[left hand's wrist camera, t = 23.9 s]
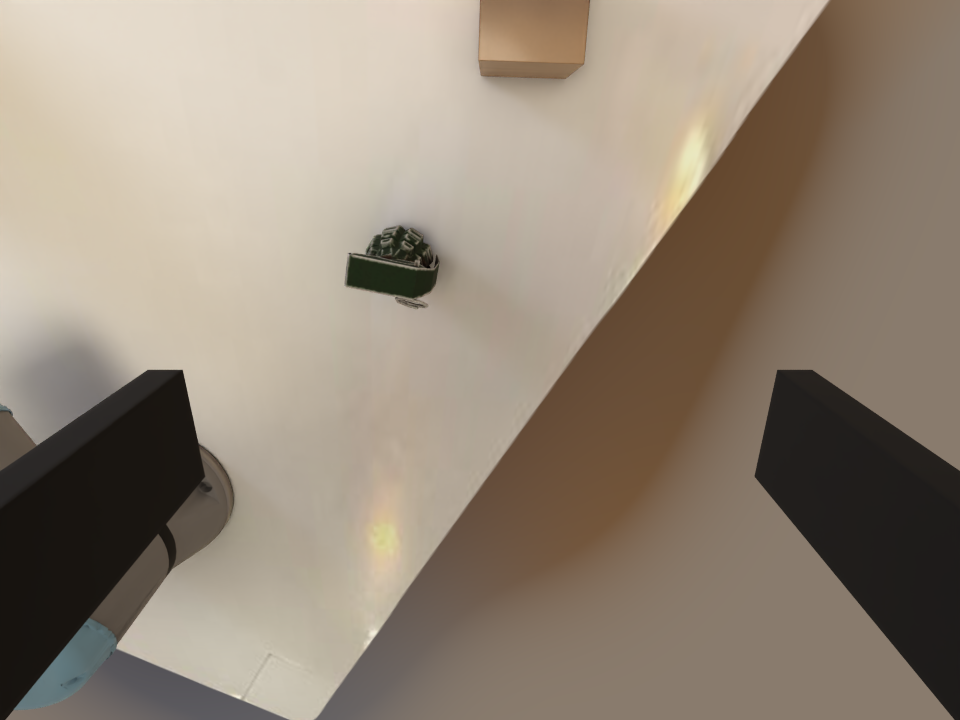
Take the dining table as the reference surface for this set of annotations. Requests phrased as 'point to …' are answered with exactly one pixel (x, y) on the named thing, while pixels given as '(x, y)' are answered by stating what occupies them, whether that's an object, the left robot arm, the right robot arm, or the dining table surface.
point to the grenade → (394, 267)
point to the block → (532, 37)
